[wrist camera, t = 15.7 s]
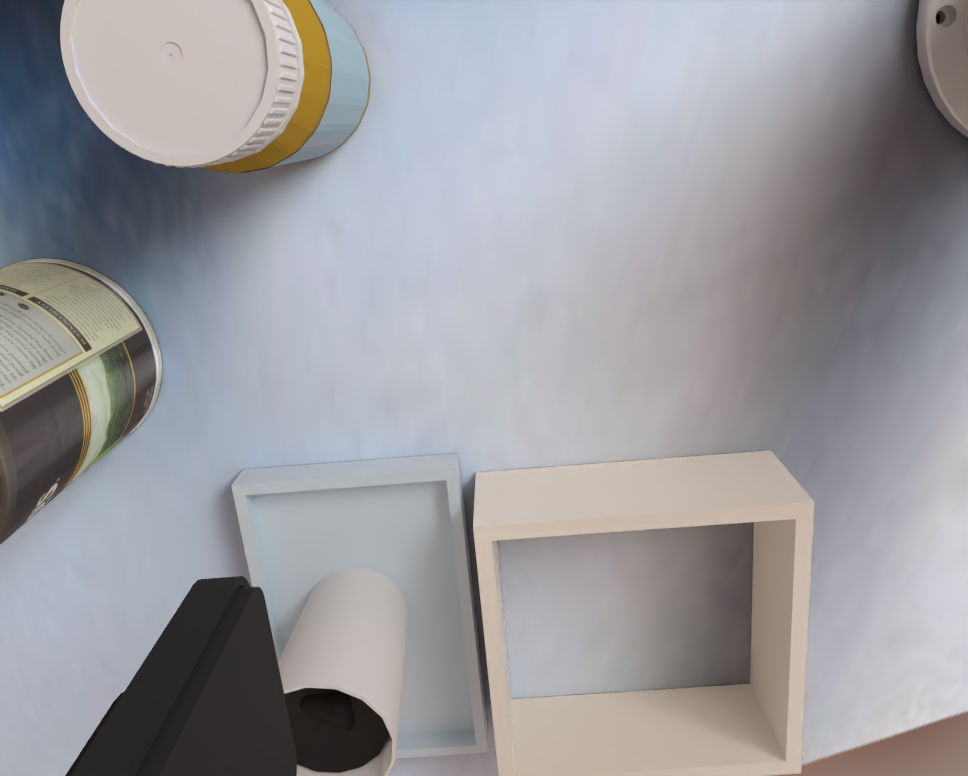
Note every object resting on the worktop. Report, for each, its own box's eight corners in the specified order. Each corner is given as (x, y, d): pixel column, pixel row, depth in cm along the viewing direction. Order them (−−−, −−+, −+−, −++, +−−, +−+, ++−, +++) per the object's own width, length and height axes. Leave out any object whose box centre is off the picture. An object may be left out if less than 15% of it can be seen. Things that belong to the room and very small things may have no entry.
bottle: (404, 77, 36) (347, 50, 22) (305, 190, 38) (192, 233, 24) (286, -42, 35) (142, -154, 21) (188, 81, 36) (-7, 56, 22)
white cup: (287, 567, 44) (229, 692, 34) (407, 554, 43) (382, 676, 34) (311, 668, 46) (263, 812, 36) (426, 656, 45) (408, 798, 36)
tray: (458, 452, 42) (456, 468, 40) (487, 728, 48) (487, 753, 46) (242, 469, 43) (231, 485, 41) (297, 740, 48) (289, 765, 46)
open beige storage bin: (770, 450, 42) (814, 502, 36) (763, 694, 47) (800, 773, 41) (475, 472, 42) (472, 526, 37) (499, 710, 47) (500, 791, 42)
